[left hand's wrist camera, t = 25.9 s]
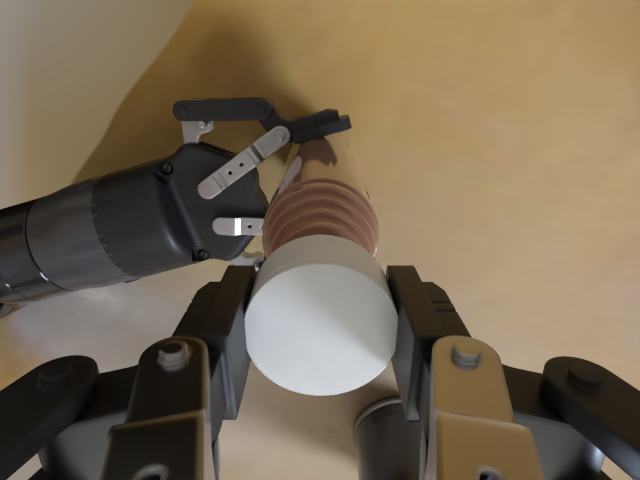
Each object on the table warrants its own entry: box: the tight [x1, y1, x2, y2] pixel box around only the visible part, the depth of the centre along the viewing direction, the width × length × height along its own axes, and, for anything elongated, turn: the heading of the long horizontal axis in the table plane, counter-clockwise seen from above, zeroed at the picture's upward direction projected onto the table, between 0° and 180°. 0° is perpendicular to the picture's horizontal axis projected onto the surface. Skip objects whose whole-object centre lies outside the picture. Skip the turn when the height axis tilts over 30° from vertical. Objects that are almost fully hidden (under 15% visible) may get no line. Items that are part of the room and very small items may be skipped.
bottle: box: [263, 133, 378, 259], centre depth 22 cm, size 5×5×24 cm
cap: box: [244, 235, 398, 396], centre depth 11 cm, size 4×4×2 cm
